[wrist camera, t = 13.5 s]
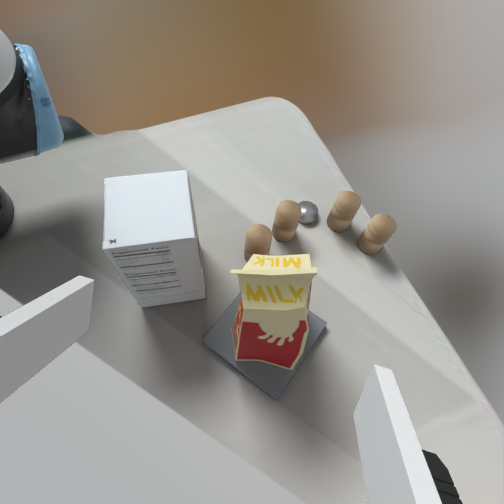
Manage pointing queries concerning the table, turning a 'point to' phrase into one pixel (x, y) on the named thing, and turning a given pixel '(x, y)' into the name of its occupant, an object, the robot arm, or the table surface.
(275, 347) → the milk carton
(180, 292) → the supplement box
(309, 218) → the silver metal dome
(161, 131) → the table surface
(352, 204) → the posts
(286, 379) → the mat
